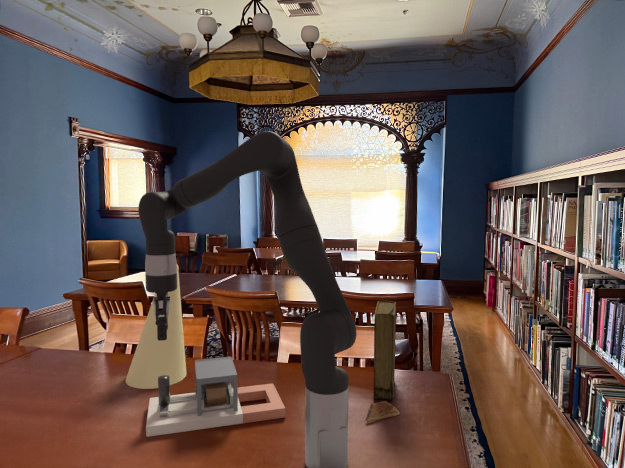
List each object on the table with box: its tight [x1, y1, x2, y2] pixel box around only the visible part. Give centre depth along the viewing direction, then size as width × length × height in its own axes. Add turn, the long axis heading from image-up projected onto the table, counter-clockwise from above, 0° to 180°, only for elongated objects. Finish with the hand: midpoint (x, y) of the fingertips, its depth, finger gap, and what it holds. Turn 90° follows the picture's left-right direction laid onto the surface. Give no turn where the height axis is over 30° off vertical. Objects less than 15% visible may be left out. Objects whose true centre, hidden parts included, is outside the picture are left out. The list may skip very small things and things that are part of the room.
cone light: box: [125, 264, 187, 390], centre depth 145 cm, size 25×18×35 cm
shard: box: [365, 400, 401, 425], centre depth 120 cm, size 11×8×2 cm
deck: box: [145, 383, 286, 438], centre depth 120 cm, size 16×34×2 cm, turn 106°
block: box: [206, 382, 226, 406], centre depth 120 cm, size 5×5×5 cm
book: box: [372, 300, 397, 402], centre depth 133 cm, size 16×6×25 cm, turn 168°
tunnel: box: [194, 356, 238, 416], centre depth 121 cm, size 14×10×10 cm
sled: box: [157, 375, 233, 417], centre depth 118 cm, size 9×19×8 cm, turn 107°
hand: (162, 334), depth 115 cm, fingers open, 8 cm apart
